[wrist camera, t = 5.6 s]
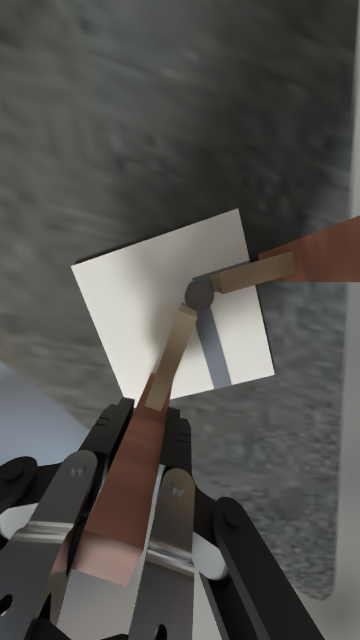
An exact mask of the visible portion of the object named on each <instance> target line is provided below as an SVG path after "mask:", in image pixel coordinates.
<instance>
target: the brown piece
mask: <svg viewBox="0 0 360 640" xmlns="http://www.w3.org/2000/svg"><path fill="white" fill-rule="evenodd" d="M258 257H259V261H256V262H252V263H249V264H246V265H243V266H240V267H236V268H233V269H230V270H227V271H223V272H220V273H217V274H214V275H210V279H211V282H212V286H213V289H212V288H211V286H210V285H209V284H207V283H205V282H201V281H192V282H190V283H189V285H188V287H187V289H186V291H185V302H186V304H187V305H188V306H189V307H190V308H191V309H193V310H195V311H203V310H206V309H207V308H209V307H210V306H211V304H212V303H213V300H214V292H213V290H215V291H217V292H220V293H222V294H226V293H229V292H233V291H236V290H240V289H243V288H246V287H250V286H253V285H257V284H260V283H263V282H267V281H308V282H360V216H358V217H355V218H352V219H350V220H347V221H344V222H342V223H339V224H336V225H334V226H331V227H329V228H326V229H323V230H321V231H318V232H315V233H313V234H310V235H308V236H305V237H302V238H300V239H297V240H294V241H292V242H289V243H287V244H284V245H281V246H279V247H276V248H273V249H271V250H268V251H266V252H263V253H260V254H258Z"/></svg>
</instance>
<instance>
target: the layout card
mask: <svg viewBox="0 0 360 640" xmlns="http://www.w3.org/2000/svg"><path fill="white" fill-rule="evenodd" d="M249 263H250V260H249V255H248V251H247V246H246V242H245V237H244V232H243V228H242V223H241V219H240V214H239V210H238V209H235V210H232V211H229V212H226V213H223V214H220V215H217V216H214V217H212V218H209V219H206V220H203V221H200V222H197V223H194V224H191V225H189V226H186V227H183V228H180V229H177V230H174V231H171V232H168V233H166V234H163V235H160V236H157V237H154V238H151V239H148V240H145V241H142V242H140V243H137V244H134V245H131V246H128V247H125V248H122V249H119V250H117V251H114V252H111V253H108V254H105V255H102V256H99V257H96V258H94V259H91V260H88V261H85V262H82V263H79V264H76V265H73V266H71V268H72V270H73V273H74V275H75V278H76V280H77V282H78V285H79V287H80V290H81V292H82V295H83V297H84V300H85V302H86V305H87V307H88V310H89V312H90V314H91V317H92V319H93V322H94V324H95V327H96V329H97V332H98V334H99V337H100V339H101V341H102V344H103V346H104V349H105V351H106V354H107V356H108V359H109V361H110V364H111V366H112V368H113V371H114V373H115V376H116V378H117V381H118V383H119V386H120V388H121V391H122V393H123V395H124V397H127V398H132V399H135V404H134V408H135V407H137V404H138V402H139V400H140V397H141V395H142V393H143V390H144V388H145V386H146V383H147V381H148V379H149V376H150V374H151V373H154V374H156V372H157V370H158V367H159V364H160V361H161V358H162V356H163V353H164V350H165V347H166V345H167V342H168V339H169V336H170V334H171V331H172V328H173V325H174V323H175V320H176V317H177V314H178V311H179V309H180V306H181V304H182V302H183V303H186V302H185V291H186V289H187V287H188V285H189V283H190V282H192V281H201V282H205V283H207V284H209V285H210V286H211V288H212V289H213V286H212V282H211V279H210V275H214V274H217V273H220V272H223V271H227V270H230V269H233V268H236V267H240V266H243V265H246V264H249ZM213 292H214V300H213V303H212V304H211V306H210V307H209V308H207V309H206V310H203V311H196V312H197V320H196V322H195V325H194V328H193V330H192V333H191V335H190V338H189V340H188V343H187V346H186V348H185V351H184V353H183V356H182V358H181V361H180V364H179V366H178V369H177V371H176V374H175V376H174V379H173V384H172V390H171V396H170V399H173V398H178V397H182V396H186V395H190V394H195V393H199V392H203V391H208V390H212V389H218V388H223V387H227V386H231V385H233V384H237V383H242V382H246V381H250V380H254V379H259V378H263V377H267V376H271V375H275V374H274V369H273V365H272V360H271V356H270V351H269V346H268V342H267V337H266V333H265V328H264V324H263V319H262V315H261V310H260V305H259V301H258V296H257V292H256V287H255V285H253V286H250V287H246V288H243V289H240V290H236V291H233V292H229V293H226V294H222V293H220V292H217V291H215V290H213Z"/></svg>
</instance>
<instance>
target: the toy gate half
mask: <svg viewBox="0 0 360 640" xmlns="http://www.w3.org/2000/svg"><path fill="white" fill-rule="evenodd" d="M196 320H197V312H196V311H195V310H193V309H191V308H190V307H189V306H188V305H187V304H186V303H183V302H182V304H181V306H180V309H179V311H178V314H177V317H176V320H175V323H174V325H173V328H172V331H171V334H170V336H169V339H168V342H167V345H166V347H165V350H164V353H163V356H162V358H161V361H160V364H159V367H158V370H157V372H156V374H154V373H151V374H150V376H149V379H148V381H147V383H146V386H145V388H144V390H143V393H142V395H141V397H140V400H139V402H138V404H137V407H136V409H135V411H134V414H133V416H132V418H131V421H130V423H129V425H128V428H127V430H126V432H125V435H124V437H123V439H122V442H121V444H120V446H119V449H118V451H117V453H116V456H115V458H114V460H113V463H112V465H111V467H110V470H109V472H108V474H107V477H106V479H105V481H104V484H103V486H102V488H101V491H100V493H99V495H98V498H97V500H96V502H95V505H94V507H93V509H92V512H91V514H90V516H89V519H88V521H87V523H86V526H85V528H84V530H83V533H82V536H81V539H80V542H79V545H78V548H77V551H76V554H75V557H74V560H73V563H72V566H71V568H72V569H75V570H78V571H81V572H84V573H87V574H90V575H93V576H96V577H99V578H102V579H105V580H108V581H111V582H114V583H117V584H120V585H124V586H127V584H128V582H129V580H130V578H131V576H132V574H133V571H134V569H135V567H136V565H137V563H138V560H139V558H140V556H141V554H142V552H143V550H144V544H145V538H146V533H147V527H148V521H149V516H150V510H151V504H152V498H153V493H154V487H155V481H156V476H157V470H158V464H159V458H160V453H161V447H162V441H163V436H164V430H165V424H166V417H167V411H168V406H169V401H170V396H171V390H172V384H173V379H174V376H175V374H176V371H177V369H178V366H179V364H180V361H181V358H182V356H183V353H184V351H185V348H186V346H187V343H188V340H189V338H190V335H191V333H192V330H193V328H194V325H195V322H196Z"/></svg>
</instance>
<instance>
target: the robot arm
mask: <svg viewBox="0 0 360 640" xmlns="http://www.w3.org/2000/svg"><path fill="white" fill-rule="evenodd" d="M134 404H135V399H132V398H127V397H122V399H121V401H120V402H119V404H118V405H113V404H111V405H110V406H108V407H107V408H106V409H104V410H103V412H102V414H101V415H100V417H99V418H98V420H97V421H96V423H95V425H94V426H93V428H92V429H91V431H90V432H89V434H88V436H87V437H86V439H85V440H84V442H83V443H82V445H81V447H80V448H79V450H78V451H77V452H74V453H73V454H71V455H69V456H68V457H67V458H66V459H65V460H64V461H63V462H61V463H58V464H53V465H45V466H38V467H37V462H36V460H35V459H34V458H32V457H26V456H24V457H18V458H15V459H13V460H10V461H8V462H7V463H5V464H3V465H1V466H0V640H71V639H70V638H68V637H67V636H66V635H65V634H64V633H63V632H62V631H60V630H59V629H58V628H57V627H56V626H57V623H58V619H59V616H60V613H61V609H62V605H63V601H64V597H65V593H66V589H67V585H68V582H69V579H70V576H71V573H72V570H73V569H72V568H71V566H72V563H73V560H74V557H75V554H76V551H77V548H78V545H79V542H80V539H81V536H82V533H83V530H84V528H85V526H86V523H87V521H88V519H89V516H90V514H91V512H92V508H93V505H94V503H95V501H96V498H97V496H98V494H99V493H100V491H101V488H102V486H103V484H104V481H105V479H106V477H107V474H108V472H109V470H110V467H111V465H112V463H113V460H114V458H115V456H116V453H117V451H118V449H119V446H120V444H121V442H122V439H123V437H124V435H125V432H126V430H127V428H128V425H129V423H130V421H131V418H132V416H133V410H134ZM152 505H156V507H155V514H154V520H153V525H152V530H151V534H150V538H149V543H148V547H147V552H146V557H145V562H144V566H143V571H142V575H141V580H140V584H139V589H138V593H137V598H136V602H135V607H134V611H133V616H132V620H131V625H130V629H129V634H128V635H126V634H119V635H116V636H112V637H108V638H105V639H102V640H192V624H193V598H194V568H196V569H197V570H198V571H199V574H200V577H201V580H202V583H203V586H204V589H205V592H206V595H207V597H208V600H209V603H210V606H211V609H212V612H213V614H214V617H215V621H216V623H217V626H218V629H219V632H220V635H221V638H222V640H325V639H324V638H323V636H322V635H321V633H320V631H319V630H318V628H317V627H316V625H315V623H314V622H313V620H312V618H311V617H310V615H309V613H308V612H307V610H306V609H305V607H304V605H303V604H302V602H301V600H300V599H299V597H298V596H297V594H296V592H295V591H294V589H293V588H292V586H291V584H290V583H289V581H288V579H287V578H286V576H285V575H284V573H283V571H282V570H281V568H280V566H279V565H278V563H277V562H276V560H275V558H274V557H273V555H272V554H271V552H270V550H269V549H268V547H267V545H266V544H265V542H264V541H263V539H262V537H261V536H260V534H259V533H258V531H257V529H256V528H255V526H254V524H253V523H252V521H251V520H250V518H249V516H248V515H247V513H246V511H245V510H244V509H243V507H242V506H241V505H240V504H239V503H238V502H237V501H235V500H234V499H232V498H230V497H221V498H219V499H218V500H217V501H215V500H214V499H212V498H210V497H209V496H207V495H205V494H204V493H203V492H202V491H200V489H199V488H198V487H197V486H196V484H195V482H194V480H193V477H192V463H191V426H190V424H189V422H188V420H187V419H183V418H180V408H177V407H172V406H168V411H167V417H166V424H165V430H164V436H163V441H162V447H161V453H160V458H159V464H158V470H157V476H156V481H155V487H154V493H153V498H152Z"/></svg>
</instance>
